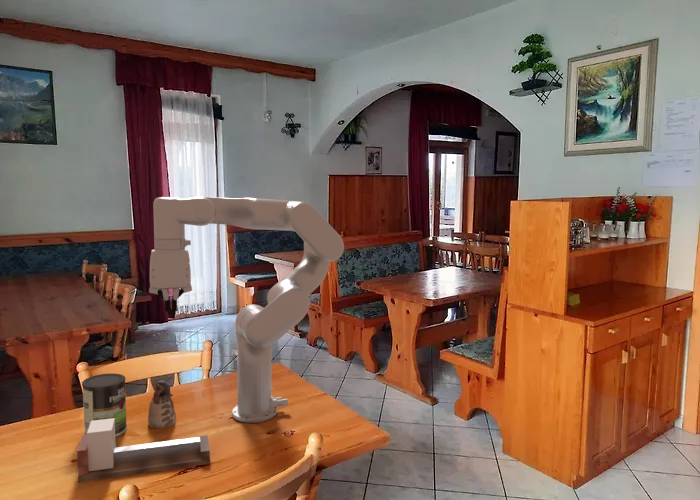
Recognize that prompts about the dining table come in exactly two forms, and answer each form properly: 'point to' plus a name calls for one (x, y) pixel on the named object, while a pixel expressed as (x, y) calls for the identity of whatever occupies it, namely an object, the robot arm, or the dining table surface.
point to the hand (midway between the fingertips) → (171, 314)
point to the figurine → (161, 407)
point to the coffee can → (105, 400)
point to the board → (139, 463)
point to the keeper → (101, 444)
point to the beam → (156, 450)
